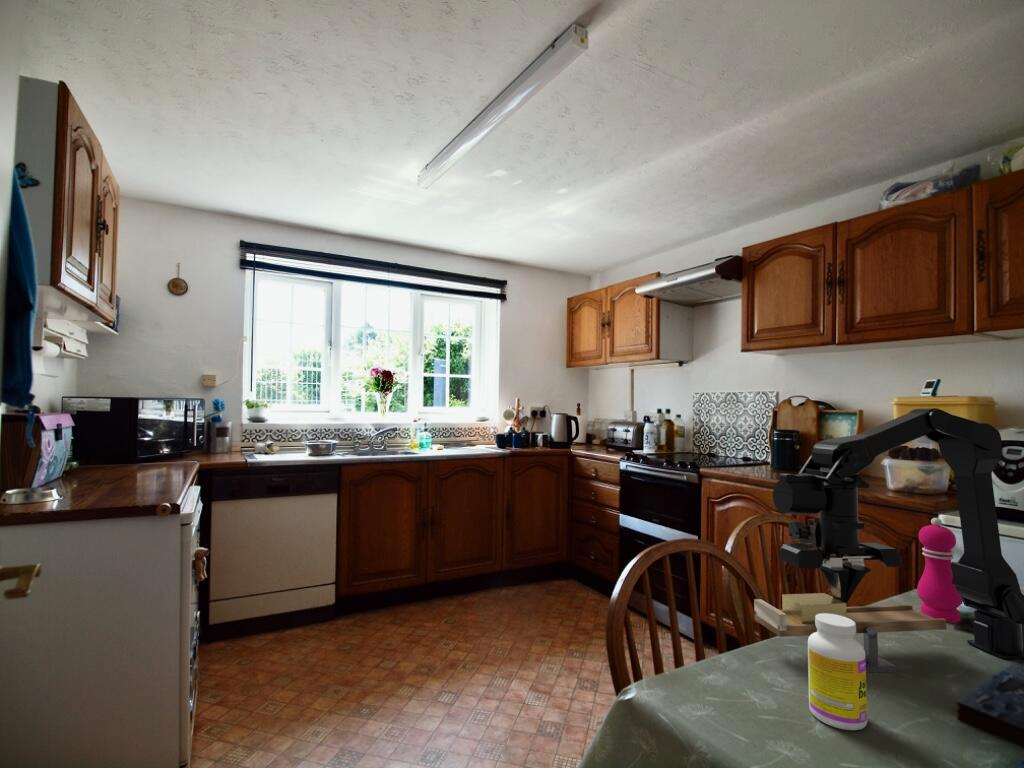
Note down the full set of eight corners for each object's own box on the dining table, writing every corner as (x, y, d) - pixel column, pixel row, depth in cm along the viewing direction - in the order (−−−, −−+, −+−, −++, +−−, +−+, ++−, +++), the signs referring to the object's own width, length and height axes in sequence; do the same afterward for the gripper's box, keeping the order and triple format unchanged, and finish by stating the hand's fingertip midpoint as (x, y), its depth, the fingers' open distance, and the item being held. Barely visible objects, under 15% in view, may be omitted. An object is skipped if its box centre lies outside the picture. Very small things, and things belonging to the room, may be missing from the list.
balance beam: (909, 613, 93) (908, 593, 94) (946, 629, 87) (945, 608, 87) (754, 619, 90) (754, 599, 90) (780, 636, 83) (779, 614, 83)
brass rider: (825, 613, 91) (824, 593, 91) (846, 624, 86) (846, 603, 86) (782, 615, 90) (782, 594, 90) (802, 626, 85) (801, 605, 85)
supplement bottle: (869, 739, 65) (865, 633, 65) (808, 722, 68) (805, 622, 69) (866, 713, 70) (863, 616, 71) (810, 699, 74) (807, 607, 75)
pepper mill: (946, 611, 109) (942, 515, 110) (973, 624, 102) (968, 521, 103) (909, 609, 110) (906, 514, 111) (933, 623, 102) (929, 520, 104)
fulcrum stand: (839, 639, 94) (838, 604, 95) (895, 671, 82) (894, 631, 83) (809, 640, 94) (808, 605, 94) (861, 672, 82) (860, 632, 82)
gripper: (851, 505, 98) (854, 589, 97) (760, 506, 96) (761, 591, 95) (902, 516, 87) (905, 611, 86) (800, 517, 85) (802, 614, 84)
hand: (840, 606), depth 88 cm, fingers closed
